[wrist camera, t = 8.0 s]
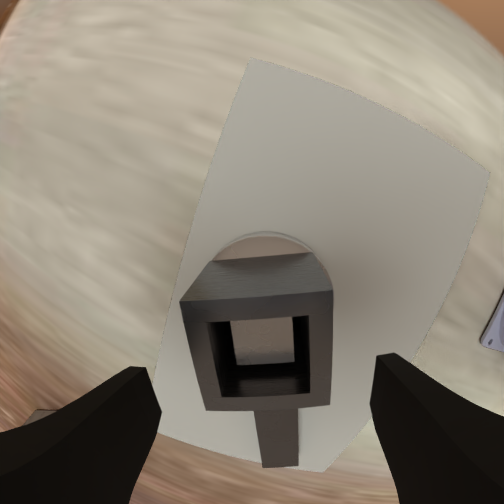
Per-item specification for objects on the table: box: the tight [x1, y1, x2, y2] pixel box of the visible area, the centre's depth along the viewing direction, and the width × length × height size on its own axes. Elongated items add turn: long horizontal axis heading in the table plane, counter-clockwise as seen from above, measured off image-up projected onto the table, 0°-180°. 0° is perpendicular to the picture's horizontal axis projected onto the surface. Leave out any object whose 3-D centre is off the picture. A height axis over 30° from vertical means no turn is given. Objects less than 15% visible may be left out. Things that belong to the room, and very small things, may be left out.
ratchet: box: [211, 231, 334, 468], centre depth 15 cm, size 7×18×5 cm, turn 6°
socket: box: [179, 252, 333, 411], centre depth 12 cm, size 5×5×5 cm
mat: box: [152, 58, 490, 472], centre depth 17 cm, size 16×27×1 cm, turn 161°
